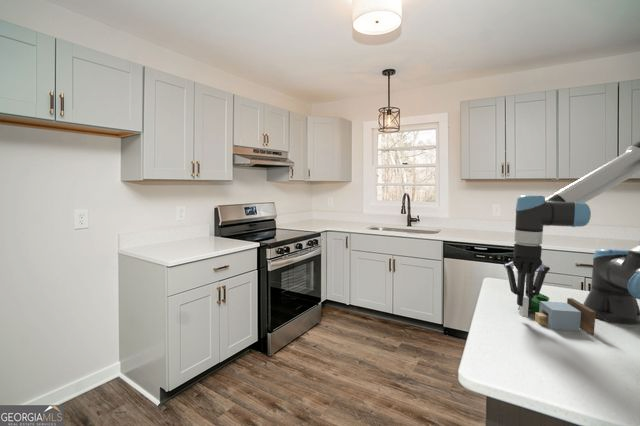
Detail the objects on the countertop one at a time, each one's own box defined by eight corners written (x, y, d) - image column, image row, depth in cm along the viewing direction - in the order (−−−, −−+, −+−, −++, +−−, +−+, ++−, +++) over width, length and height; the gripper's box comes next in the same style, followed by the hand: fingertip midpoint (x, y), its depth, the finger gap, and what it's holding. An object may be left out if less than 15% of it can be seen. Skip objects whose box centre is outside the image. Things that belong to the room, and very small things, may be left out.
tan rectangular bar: (558, 323, 109) (559, 314, 109) (563, 327, 106) (564, 317, 106) (534, 321, 110) (535, 312, 110) (538, 324, 107) (539, 315, 107)
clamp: (534, 326, 116) (540, 308, 111) (515, 317, 120) (520, 299, 115) (547, 306, 122) (553, 288, 117) (529, 299, 126) (534, 281, 121)
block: (564, 320, 110) (566, 302, 110) (579, 330, 103) (581, 311, 102) (538, 318, 112) (539, 301, 111) (550, 328, 104) (552, 309, 103)
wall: (570, 318, 112) (572, 298, 111) (593, 334, 100) (595, 311, 100) (565, 318, 112) (567, 298, 112) (588, 334, 100) (590, 311, 100)
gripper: (544, 242, 109) (539, 312, 111) (501, 241, 111) (497, 309, 113) (556, 246, 102) (551, 321, 104) (510, 245, 104) (506, 318, 106)
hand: (523, 315), depth 109 cm, fingers closed
